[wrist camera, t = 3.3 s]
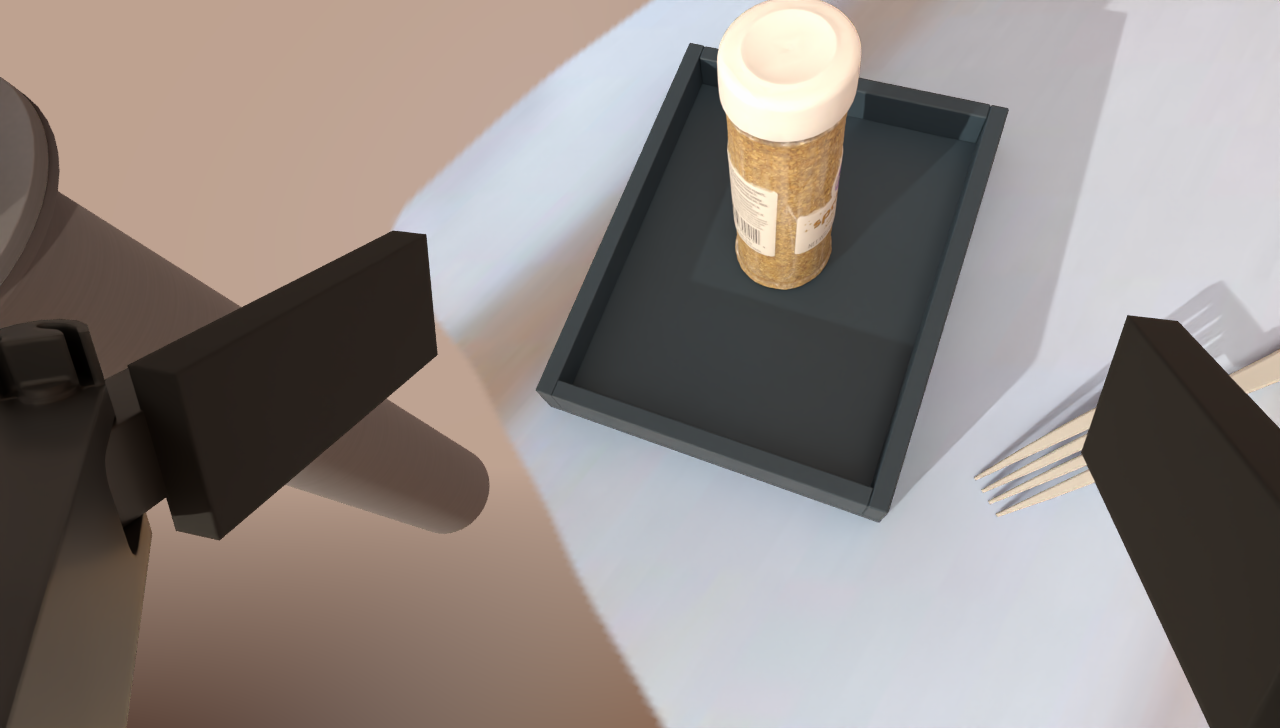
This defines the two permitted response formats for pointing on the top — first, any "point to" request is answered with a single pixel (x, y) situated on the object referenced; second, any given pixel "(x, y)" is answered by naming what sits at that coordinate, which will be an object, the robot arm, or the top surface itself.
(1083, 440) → the fork
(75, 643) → the robot arm
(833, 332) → the tray
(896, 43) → the top surface
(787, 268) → the sprinkles bottle
